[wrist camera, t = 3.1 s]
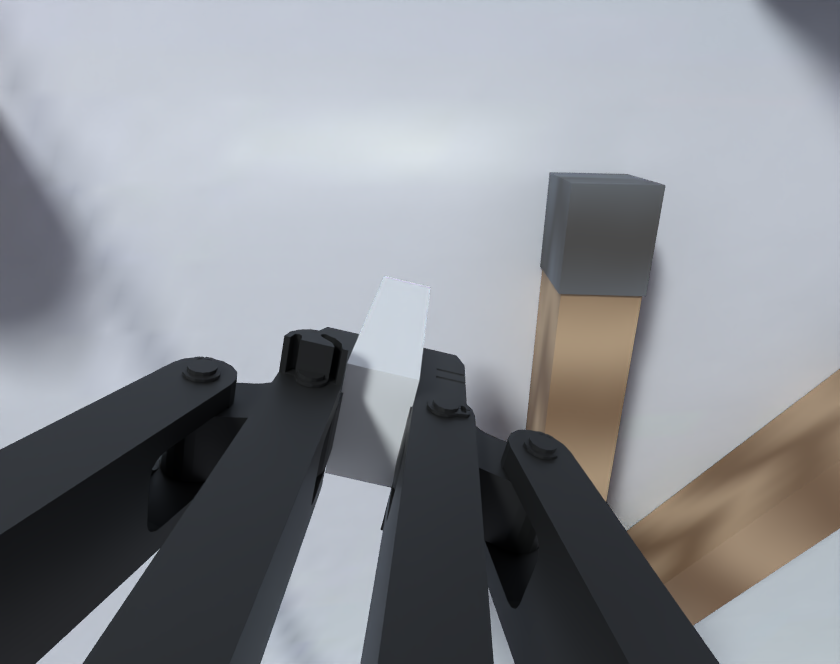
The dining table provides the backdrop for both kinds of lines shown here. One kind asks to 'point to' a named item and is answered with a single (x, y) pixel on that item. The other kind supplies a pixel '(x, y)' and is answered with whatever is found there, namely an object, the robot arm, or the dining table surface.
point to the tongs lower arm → (750, 508)
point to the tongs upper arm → (590, 310)
